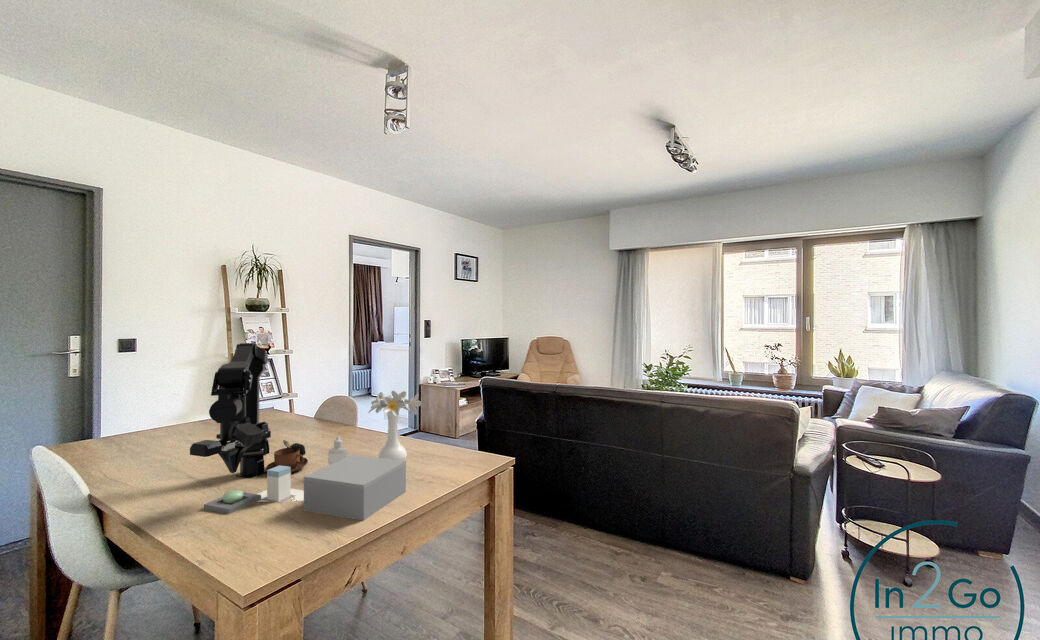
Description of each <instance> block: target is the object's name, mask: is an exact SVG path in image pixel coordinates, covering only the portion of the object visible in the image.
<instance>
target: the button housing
mask: <svg viewBox="0 0 1040 640" xmlns="http://www.w3.org/2000/svg"><path fill="white" fill-rule="evenodd" d="M259 500H261V495H258V493H252V492H245V491H243V499H242V500H240V501H237V502H233V503H231V504H230V503H224V502H223V496H220V497H218V498H216V499H214V500H211V501H208V502H206V503H204V504H203V510H207V511H211V512H212V511H213V512H217V513H223V514H229V515H231V514H232V513H235V512H237V511H240V510H242V509H243V508H246V507H248V506H250V505H252V504H254V503H258V502H257V501H259Z"/></svg>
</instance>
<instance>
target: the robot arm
mask: <svg viewBox="0 0 1040 640" xmlns="http://www.w3.org/2000/svg"><path fill="white" fill-rule="evenodd" d="M268 357H269V355H268V353H267V351H266V349H265V348H263V347H261V346H258V345H257V343H253V342H244V343H237V344H236V349H235V350H234V354H233V356H232V357H231V359H230V360H229V363H224V364H222V365H221V366H220V367H219V368H218V370H217V371H216V372H215V373H214V377H213V381H212V382H213V383H212V386H211V387H212V388H211V392H210V396H211V397H213V396H214V397H215V396H217V400H216V401H214V403H212V405H211V406H210V408H209V410H208V414H209V417H210V418H211V420H212V421H214V422H215V423H216V424H219V433H218V434H216V439H217V440H212V439H204V440H201V441H197V442H194V443H192V444H191V446H190V447H189V455H190V456H197V457H203V458H206V457H211V456H215V455H218V456H220V459H222V460H223V462H224V464H225V466H226V468H227V469H228V471H229V473H231V474H234V473H236V474H235V477H238V478H245V479H253V478H255V477H258V476H261V475H263V474H267V469H265V459H264V458H265V456H266V455H269V454H270V441H269V438H271V436H272V435H271V433H272V431H271V429H270V428H269V424H268V422H266V421H261V422H260V377H261V376H262V374H263V373H264V372H265V370H266V366H267V365H268V359H269V358H268ZM238 467H239V472H238V473H237V471H238Z"/></svg>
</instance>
